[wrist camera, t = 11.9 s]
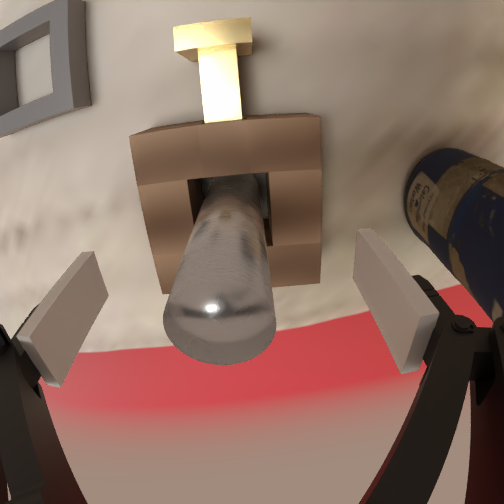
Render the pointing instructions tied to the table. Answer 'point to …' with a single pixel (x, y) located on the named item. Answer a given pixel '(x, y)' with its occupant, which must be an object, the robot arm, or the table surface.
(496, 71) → the table surface
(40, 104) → the grey square frame
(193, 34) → the yellow t-shaped block
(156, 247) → the socket block
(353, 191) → the table surface
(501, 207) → the canister
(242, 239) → the grey rounded rod
